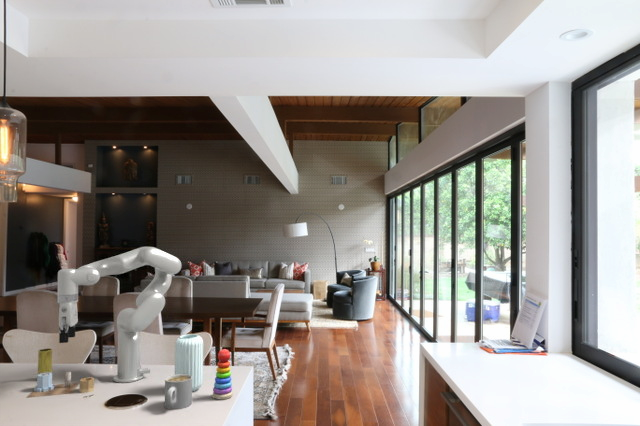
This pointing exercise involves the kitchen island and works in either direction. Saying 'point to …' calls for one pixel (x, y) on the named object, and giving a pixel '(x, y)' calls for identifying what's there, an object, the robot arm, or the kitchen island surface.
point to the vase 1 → (44, 361)
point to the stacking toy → (223, 377)
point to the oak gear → (86, 385)
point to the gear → (44, 383)
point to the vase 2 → (190, 358)
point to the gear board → (57, 388)
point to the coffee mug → (178, 391)
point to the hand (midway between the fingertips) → (67, 339)
